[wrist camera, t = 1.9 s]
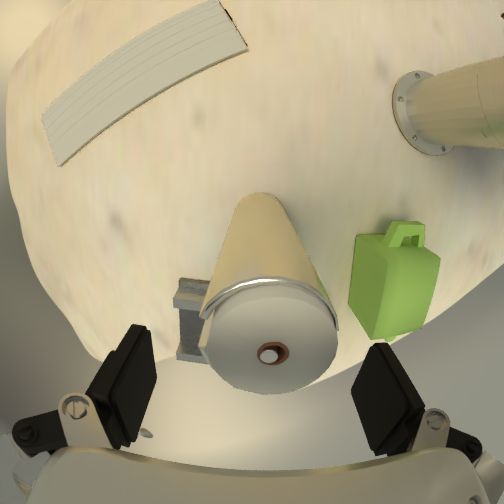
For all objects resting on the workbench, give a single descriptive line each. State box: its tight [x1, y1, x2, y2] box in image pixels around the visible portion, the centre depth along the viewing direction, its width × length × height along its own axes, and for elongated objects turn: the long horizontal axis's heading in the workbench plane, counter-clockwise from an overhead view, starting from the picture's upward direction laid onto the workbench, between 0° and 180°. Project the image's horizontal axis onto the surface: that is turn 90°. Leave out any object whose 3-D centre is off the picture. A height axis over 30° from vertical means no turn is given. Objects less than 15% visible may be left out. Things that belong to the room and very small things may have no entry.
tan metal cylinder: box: [198, 193, 339, 395], centre depth 22 cm, size 6×6×25 cm
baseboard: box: [42, 0, 248, 167], centre depth 26 cm, size 31×3×12 cm
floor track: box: [173, 278, 210, 364], centre depth 38 cm, size 20×13×4 cm, turn 84°
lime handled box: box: [348, 221, 440, 342], centre depth 32 cm, size 18×10×10 cm, turn 2°
